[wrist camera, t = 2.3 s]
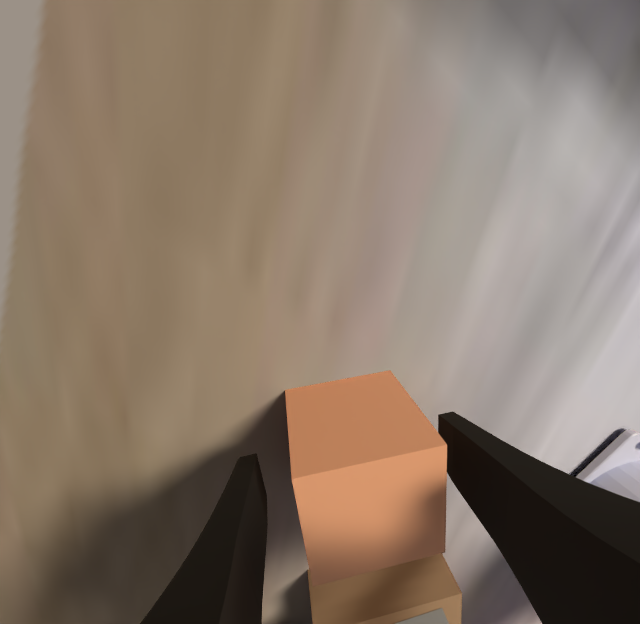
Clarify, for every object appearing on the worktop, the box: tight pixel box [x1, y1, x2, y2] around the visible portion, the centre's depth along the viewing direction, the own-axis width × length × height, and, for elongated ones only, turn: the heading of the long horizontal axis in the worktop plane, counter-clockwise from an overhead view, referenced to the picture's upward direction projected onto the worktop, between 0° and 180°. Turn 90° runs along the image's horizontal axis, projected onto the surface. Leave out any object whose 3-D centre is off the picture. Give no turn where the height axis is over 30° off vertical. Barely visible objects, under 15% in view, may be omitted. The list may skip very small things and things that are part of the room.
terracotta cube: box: [285, 370, 447, 587], centre depth 11 cm, size 4×4×4 cm
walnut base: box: [307, 553, 462, 624], centre depth 16 cm, size 7×7×3 cm
